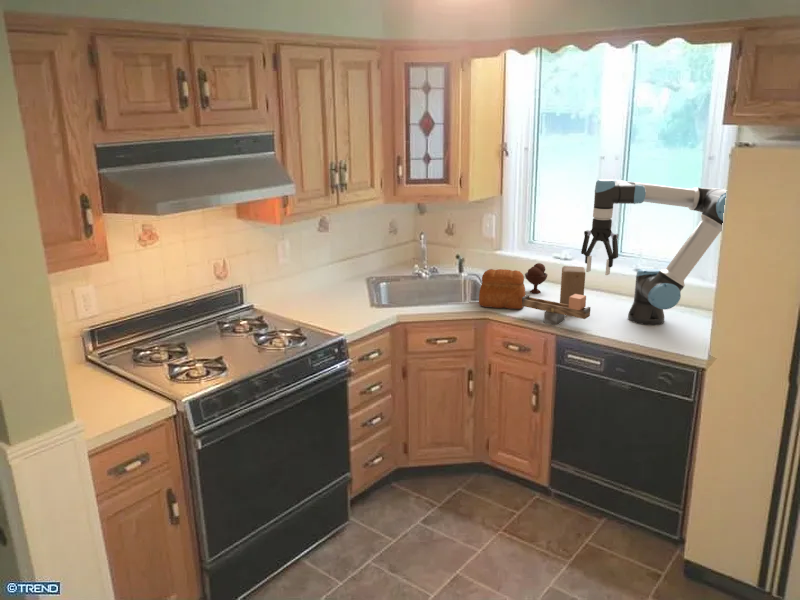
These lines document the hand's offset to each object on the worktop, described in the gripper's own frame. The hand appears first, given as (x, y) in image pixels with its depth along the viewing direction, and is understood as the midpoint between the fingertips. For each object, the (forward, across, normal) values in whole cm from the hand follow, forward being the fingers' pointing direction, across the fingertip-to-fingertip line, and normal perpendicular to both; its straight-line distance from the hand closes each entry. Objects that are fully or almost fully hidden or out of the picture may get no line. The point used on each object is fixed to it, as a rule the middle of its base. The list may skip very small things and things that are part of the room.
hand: (597, 272), depth 283 cm
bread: (+25, +49, -8) cm, 56 cm away
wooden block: (+25, +19, -19) cm, 37 cm away
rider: (+18, +8, 0) cm, 20 cm away
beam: (+25, +18, 0) cm, 31 cm away
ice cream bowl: (+25, +46, -36) cm, 64 cm away
